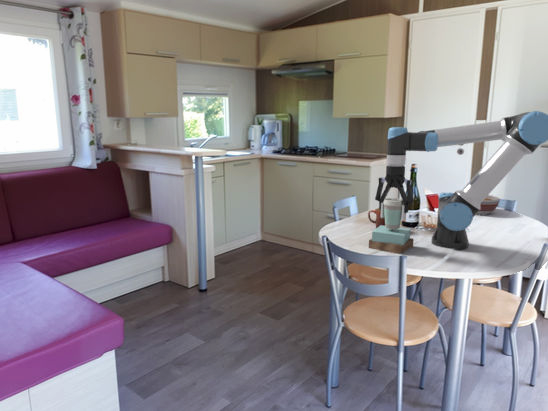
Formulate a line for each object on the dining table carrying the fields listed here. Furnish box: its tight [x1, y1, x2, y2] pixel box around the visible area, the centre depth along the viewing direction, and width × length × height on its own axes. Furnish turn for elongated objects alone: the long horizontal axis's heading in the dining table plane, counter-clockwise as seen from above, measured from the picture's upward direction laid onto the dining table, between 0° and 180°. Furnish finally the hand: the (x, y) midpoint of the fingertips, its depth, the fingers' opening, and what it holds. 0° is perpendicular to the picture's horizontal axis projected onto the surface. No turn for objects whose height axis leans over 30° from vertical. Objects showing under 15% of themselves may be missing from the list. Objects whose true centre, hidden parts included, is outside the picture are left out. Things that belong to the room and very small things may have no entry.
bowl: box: [477, 194, 501, 215], centre depth 254 cm, size 23×23×10 cm
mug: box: [367, 207, 385, 229], centre depth 217 cm, size 12×9×10 cm
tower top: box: [371, 225, 412, 245], centre depth 188 cm, size 13×13×4 cm
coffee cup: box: [383, 197, 404, 229], centre depth 186 cm, size 9×8×12 cm
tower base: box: [368, 237, 415, 255], centre depth 189 cm, size 14×14×4 cm
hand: (392, 218), depth 187 cm, fingers closed on coffee cup, 8 cm apart
